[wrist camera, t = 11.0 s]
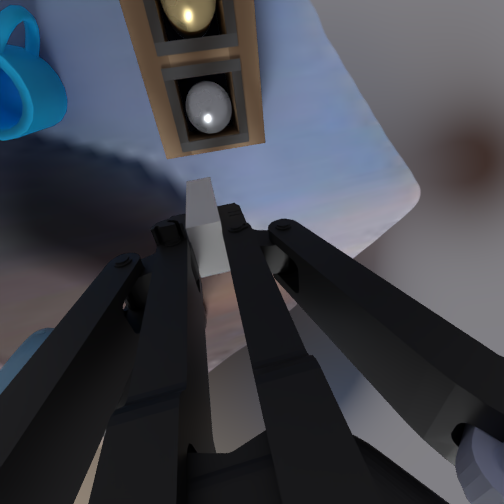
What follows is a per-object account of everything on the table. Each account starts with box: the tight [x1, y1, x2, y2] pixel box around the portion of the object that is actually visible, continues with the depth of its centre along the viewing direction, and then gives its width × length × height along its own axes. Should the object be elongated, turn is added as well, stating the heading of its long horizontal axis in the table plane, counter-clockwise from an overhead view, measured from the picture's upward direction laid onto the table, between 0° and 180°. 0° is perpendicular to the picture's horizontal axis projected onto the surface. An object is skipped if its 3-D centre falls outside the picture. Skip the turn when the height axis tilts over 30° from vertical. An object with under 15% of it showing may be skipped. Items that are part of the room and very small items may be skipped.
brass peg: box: [161, 0, 216, 39], centre depth 26 cm, size 5×5×7 cm
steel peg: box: [186, 81, 232, 133], centre depth 31 cm, size 5×5×7 cm
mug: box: [0, 5, 67, 141], centre depth 26 cm, size 12×8×8 cm
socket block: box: [119, 0, 265, 159], centre depth 28 cm, size 12×18×7 cm, turn 6°
